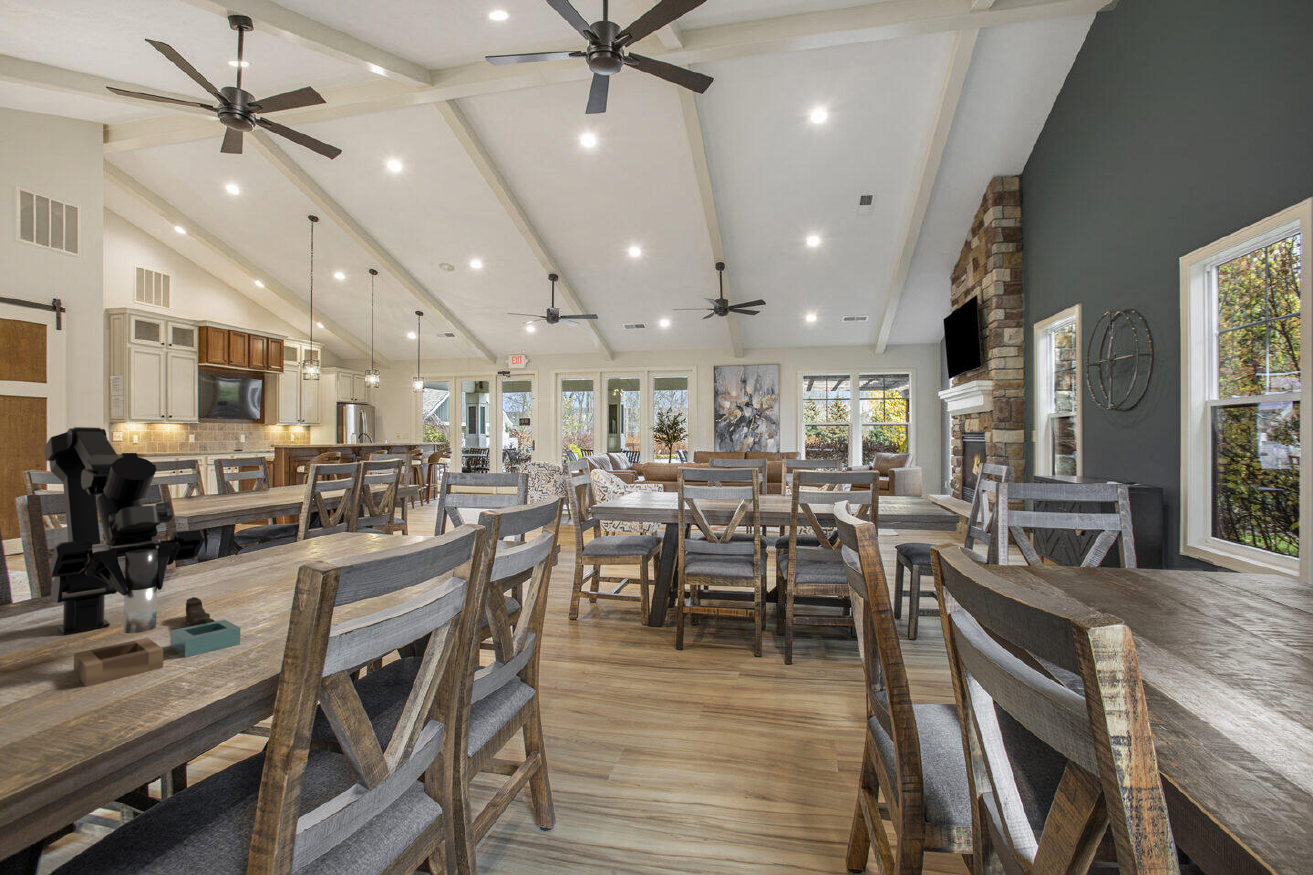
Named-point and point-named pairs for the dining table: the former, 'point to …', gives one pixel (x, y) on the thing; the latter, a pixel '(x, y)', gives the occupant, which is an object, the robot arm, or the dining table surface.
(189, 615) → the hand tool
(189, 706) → the dining table surface
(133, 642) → the frame
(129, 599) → the grey and white cylinder
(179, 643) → the socket block
